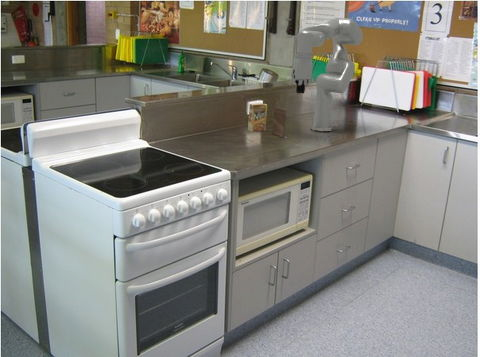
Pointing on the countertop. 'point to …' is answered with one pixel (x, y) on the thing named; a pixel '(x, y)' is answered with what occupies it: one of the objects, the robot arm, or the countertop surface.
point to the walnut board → (279, 121)
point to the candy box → (257, 117)
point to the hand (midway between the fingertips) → (300, 92)
